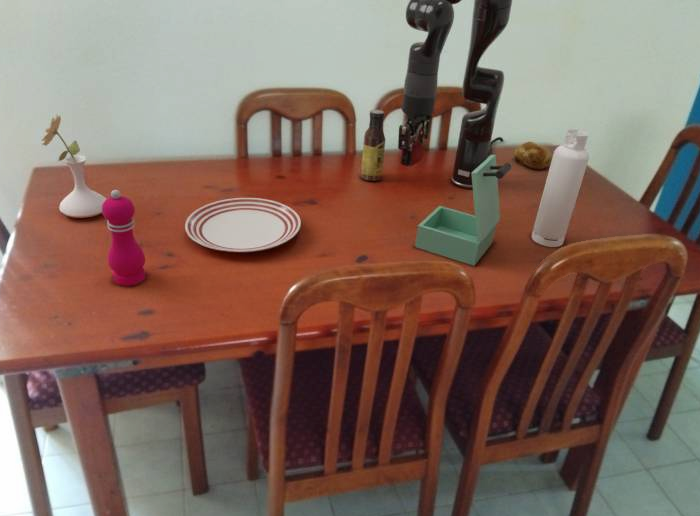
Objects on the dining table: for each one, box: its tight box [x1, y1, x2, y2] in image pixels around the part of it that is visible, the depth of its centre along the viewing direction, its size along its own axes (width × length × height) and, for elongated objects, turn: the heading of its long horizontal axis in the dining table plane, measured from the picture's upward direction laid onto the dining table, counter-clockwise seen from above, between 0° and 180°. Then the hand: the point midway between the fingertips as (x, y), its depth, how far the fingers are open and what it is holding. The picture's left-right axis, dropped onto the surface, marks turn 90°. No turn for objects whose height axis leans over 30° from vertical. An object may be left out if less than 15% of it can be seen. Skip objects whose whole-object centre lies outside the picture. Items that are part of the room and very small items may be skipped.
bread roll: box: [513, 141, 552, 170], centre depth 197 cm, size 13×10×8 cm
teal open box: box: [414, 205, 498, 267], centre depth 147 cm, size 15×14×6 cm
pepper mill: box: [101, 189, 146, 287], centre depth 121 cm, size 7×7×20 cm
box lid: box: [472, 154, 512, 241], centre depth 137 cm, size 16×14×6 cm
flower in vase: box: [41, 114, 107, 219], centre depth 142 cm, size 13×11×25 cm
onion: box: [399, 136, 425, 167], centre depth 147 cm, size 6×6×8 cm
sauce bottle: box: [360, 109, 386, 182], centre depth 174 cm, size 7×6×20 cm
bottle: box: [530, 128, 590, 248], centre depth 147 cm, size 8×8×28 cm
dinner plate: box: [184, 197, 302, 253], centre depth 145 cm, size 27×27×3 cm
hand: (410, 160), depth 148 cm, fingers closed on onion, 6 cm apart
